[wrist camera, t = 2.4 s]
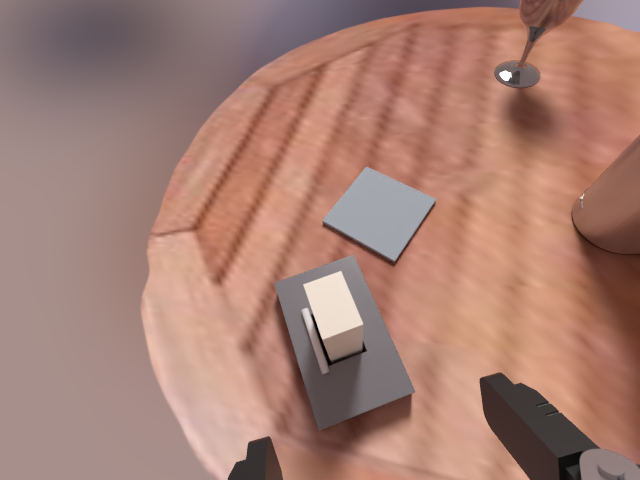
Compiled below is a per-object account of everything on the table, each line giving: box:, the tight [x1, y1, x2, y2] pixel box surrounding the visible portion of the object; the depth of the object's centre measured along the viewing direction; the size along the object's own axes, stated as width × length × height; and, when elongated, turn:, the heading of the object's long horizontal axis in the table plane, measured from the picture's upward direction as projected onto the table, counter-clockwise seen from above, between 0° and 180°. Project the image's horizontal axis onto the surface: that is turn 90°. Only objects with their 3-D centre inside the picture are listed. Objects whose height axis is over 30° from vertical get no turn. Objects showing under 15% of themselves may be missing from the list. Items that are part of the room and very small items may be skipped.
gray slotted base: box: [274, 255, 415, 430], centre depth 37 cm, size 16×10×3 cm, turn 19°
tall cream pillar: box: [303, 271, 363, 365], centre depth 33 cm, size 5×4×12 cm
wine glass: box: [495, 0, 583, 88], centre depth 50 cm, size 8×8×15 cm
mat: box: [323, 167, 436, 263], centre depth 46 cm, size 11×11×1 cm
